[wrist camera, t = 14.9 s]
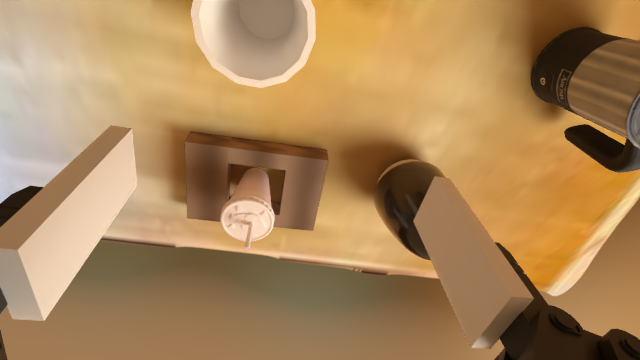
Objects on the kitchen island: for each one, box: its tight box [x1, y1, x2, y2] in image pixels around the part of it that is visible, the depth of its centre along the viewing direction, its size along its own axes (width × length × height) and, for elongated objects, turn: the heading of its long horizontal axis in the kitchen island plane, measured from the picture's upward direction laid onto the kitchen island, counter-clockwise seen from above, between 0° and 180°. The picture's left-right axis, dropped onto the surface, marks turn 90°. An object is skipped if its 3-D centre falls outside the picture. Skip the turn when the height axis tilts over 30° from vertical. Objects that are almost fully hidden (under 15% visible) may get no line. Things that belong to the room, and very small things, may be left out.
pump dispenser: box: [374, 159, 446, 260], centre depth 43 cm, size 10×10×15 cm
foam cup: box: [191, 0, 316, 88], centre depth 31 cm, size 10×9×13 cm
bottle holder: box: [185, 132, 328, 231], centre depth 47 cm, size 18×12×3 cm, turn 80°
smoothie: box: [220, 168, 275, 251], centre depth 42 cm, size 6×6×14 cm
